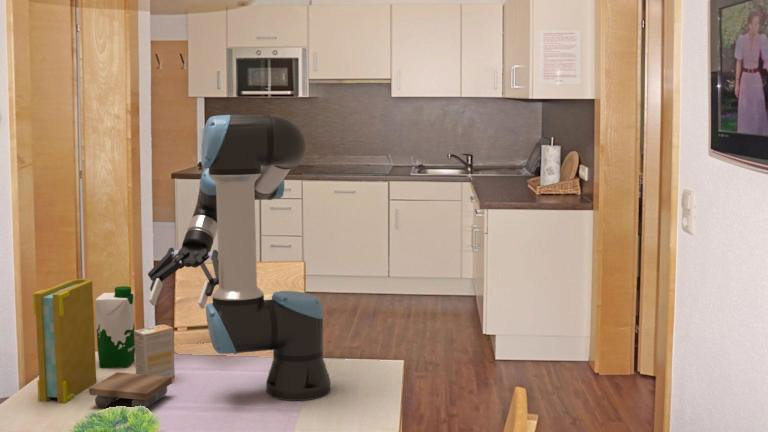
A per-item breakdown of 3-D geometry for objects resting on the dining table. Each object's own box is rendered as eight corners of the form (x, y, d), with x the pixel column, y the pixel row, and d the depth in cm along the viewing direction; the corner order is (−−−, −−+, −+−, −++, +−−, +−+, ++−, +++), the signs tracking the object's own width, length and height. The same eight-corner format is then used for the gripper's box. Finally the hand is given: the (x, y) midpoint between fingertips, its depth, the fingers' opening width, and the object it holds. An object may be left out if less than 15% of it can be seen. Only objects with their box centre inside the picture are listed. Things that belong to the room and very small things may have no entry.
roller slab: (172, 395, 214) (171, 376, 214) (147, 413, 203) (146, 393, 202) (117, 390, 218) (117, 372, 217) (90, 407, 206) (89, 388, 205)
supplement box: (164, 374, 230) (163, 323, 228) (175, 379, 226) (173, 327, 224) (135, 382, 224) (133, 329, 222) (145, 387, 221) (143, 333, 219)
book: (65, 403, 209) (60, 294, 206) (38, 401, 210) (32, 293, 207) (102, 379, 225) (98, 279, 222) (77, 378, 227) (72, 278, 223)
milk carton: (129, 369, 234) (127, 291, 231) (94, 368, 234) (91, 291, 231) (139, 358, 243) (136, 284, 240) (104, 358, 243) (101, 284, 240)
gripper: (247, 246, 247) (226, 315, 235) (162, 242, 253) (137, 308, 240) (239, 230, 241) (217, 299, 229) (152, 226, 247) (126, 293, 235)
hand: (176, 304), depth 235 cm, fingers open, 13 cm apart
